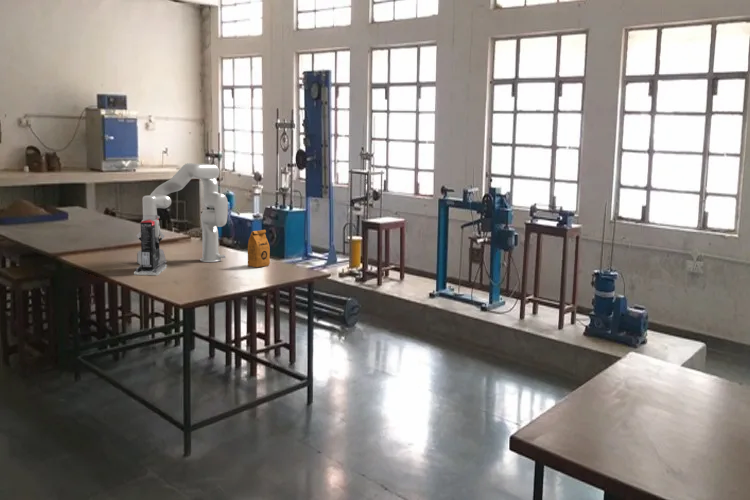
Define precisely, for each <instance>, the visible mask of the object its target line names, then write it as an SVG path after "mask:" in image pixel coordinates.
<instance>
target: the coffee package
mask: <svg viewBox="0 0 750 500" xmlns="http://www.w3.org/2000/svg"><path fill="white" fill-rule="evenodd" d="M266 233H267V231H266V229H260V230H253V231H251V233H250V236H249V238H248V243H247V267H251V268H263V267H267V266H270V263H271V261H270V260H271V259H270V253H271V252H270V251H271V250H270V249H271V248H270V243H269V241H268V238H267V236H266Z"/></svg>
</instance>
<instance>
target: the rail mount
mask: <svg viewBox="0 0 750 500" xmlns="http://www.w3.org/2000/svg"><path fill="white" fill-rule="evenodd" d="M167 267H168V264H166V263H165V261H163V262H162V263H160V264H159V265H158V266H156V267H155V268H154V269H142V264H141V265H139V266H137V267H136V268H135V271H134V272H133V275H134V276H159V275H161V273H162V272H164V271H165V270H166V269H167Z"/></svg>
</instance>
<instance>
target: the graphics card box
mask: <svg viewBox="0 0 750 500" xmlns="http://www.w3.org/2000/svg"><path fill="white" fill-rule="evenodd" d="M159 219H160V218H158V219H157V220H159ZM159 221H160V220H159ZM155 225H156V224H155V221H142V220H141V222H140V231H141V235H140V237H141V241H140V248H141V249H140V250H141V256H142V269H154V268H155V267H156V266H158V265H159V264H161V263H160V249H161V248H160V247H159V248H158V250H156V238H155ZM158 238H159V239H160V236H159V237H158Z"/></svg>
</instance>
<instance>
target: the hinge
mask: <svg viewBox="0 0 750 500" xmlns="http://www.w3.org/2000/svg"><path fill="white" fill-rule="evenodd" d="M159 249H160V264H161V263H162V262H163V261H165V264H166V263H167V259H166V256H165V251H164V250H163V249H162V248H159ZM136 264H139V266H140V265H141V264H142V256H141V249H140V250H138V251H137V253H136Z"/></svg>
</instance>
